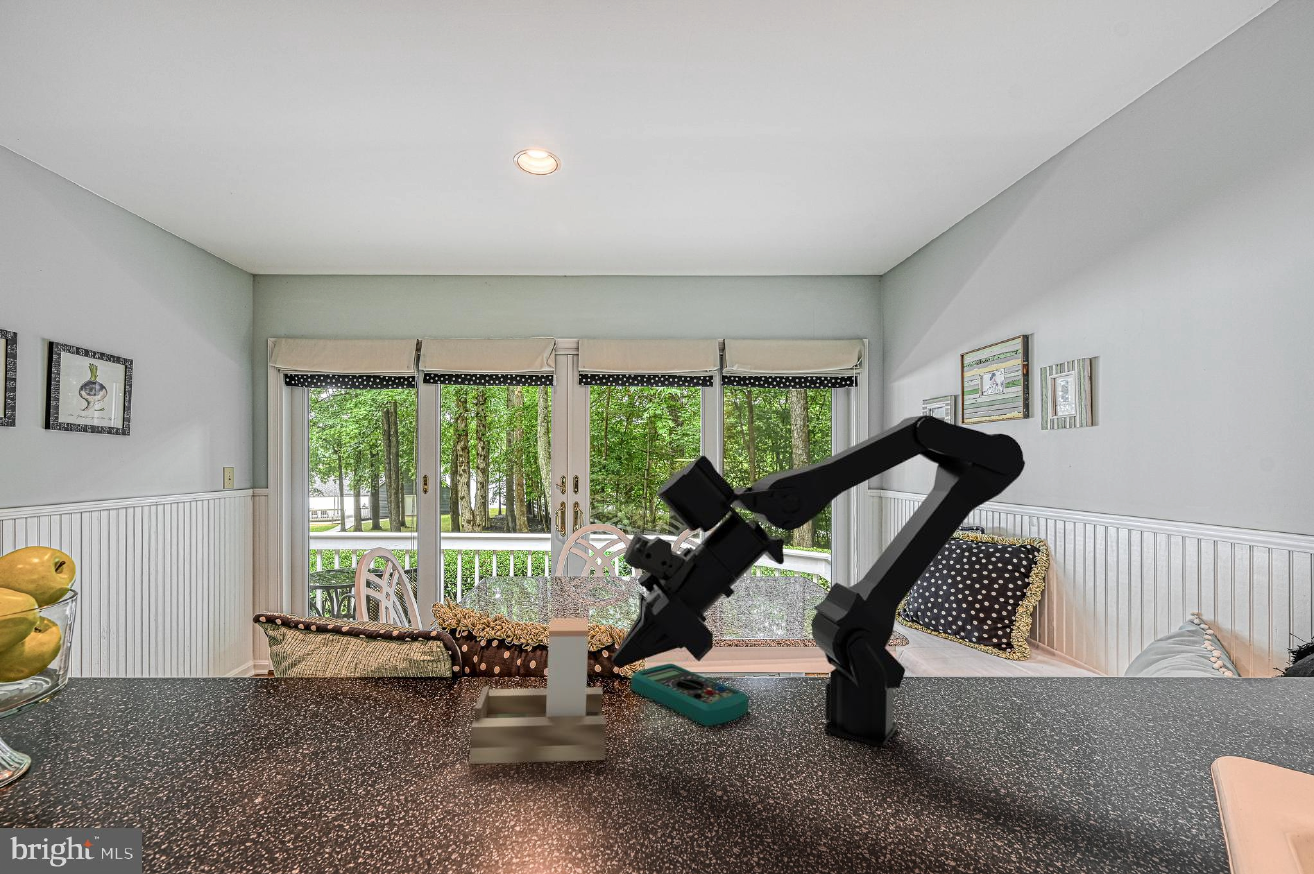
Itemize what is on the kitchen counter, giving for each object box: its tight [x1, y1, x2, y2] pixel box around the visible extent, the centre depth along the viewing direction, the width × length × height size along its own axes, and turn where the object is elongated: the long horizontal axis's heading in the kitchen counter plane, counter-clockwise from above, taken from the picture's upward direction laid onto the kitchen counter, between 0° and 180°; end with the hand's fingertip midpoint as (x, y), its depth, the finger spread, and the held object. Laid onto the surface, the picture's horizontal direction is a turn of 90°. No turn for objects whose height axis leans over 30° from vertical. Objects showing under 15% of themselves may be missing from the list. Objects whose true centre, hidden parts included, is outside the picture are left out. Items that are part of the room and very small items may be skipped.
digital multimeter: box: [630, 663, 750, 727], centre depth 78 cm, size 7×15×3 cm, turn 41°
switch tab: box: [546, 617, 589, 717], centre depth 67 cm, size 4×5×10 cm
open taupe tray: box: [469, 686, 607, 765], centre depth 67 cm, size 13×10×4 cm
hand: (614, 664), depth 68 cm, fingers closed
